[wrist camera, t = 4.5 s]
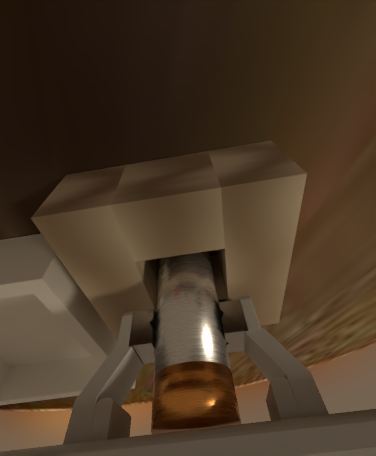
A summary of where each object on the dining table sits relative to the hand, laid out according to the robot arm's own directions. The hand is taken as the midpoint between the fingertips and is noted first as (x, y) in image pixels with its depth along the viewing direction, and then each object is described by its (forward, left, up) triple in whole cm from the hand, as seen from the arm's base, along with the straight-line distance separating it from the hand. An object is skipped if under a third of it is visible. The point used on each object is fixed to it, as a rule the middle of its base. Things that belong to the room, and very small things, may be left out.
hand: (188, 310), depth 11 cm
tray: (+14, +6, -6) cm, 16 cm away
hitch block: (0, 0, -6) cm, 6 cm away
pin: (0, 0, -6) cm, 6 cm away
